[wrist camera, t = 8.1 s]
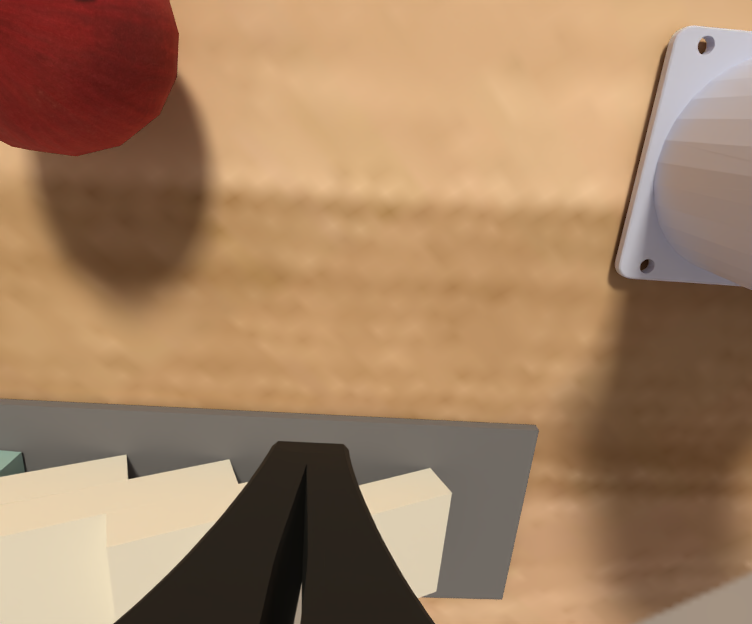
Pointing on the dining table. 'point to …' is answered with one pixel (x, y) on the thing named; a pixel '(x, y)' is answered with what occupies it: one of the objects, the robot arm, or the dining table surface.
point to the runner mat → (359, 434)
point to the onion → (83, 71)
